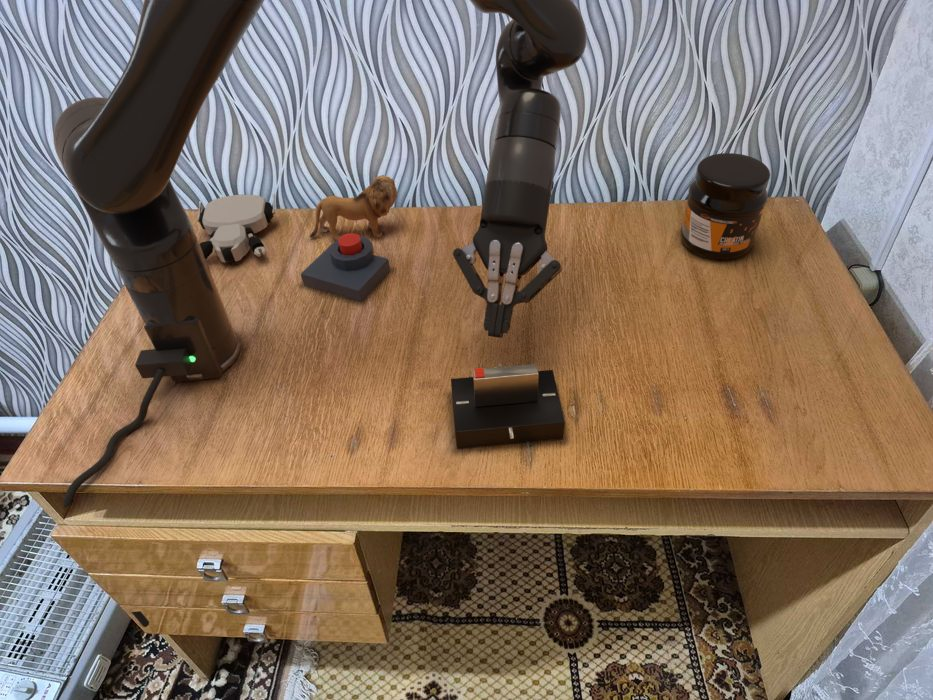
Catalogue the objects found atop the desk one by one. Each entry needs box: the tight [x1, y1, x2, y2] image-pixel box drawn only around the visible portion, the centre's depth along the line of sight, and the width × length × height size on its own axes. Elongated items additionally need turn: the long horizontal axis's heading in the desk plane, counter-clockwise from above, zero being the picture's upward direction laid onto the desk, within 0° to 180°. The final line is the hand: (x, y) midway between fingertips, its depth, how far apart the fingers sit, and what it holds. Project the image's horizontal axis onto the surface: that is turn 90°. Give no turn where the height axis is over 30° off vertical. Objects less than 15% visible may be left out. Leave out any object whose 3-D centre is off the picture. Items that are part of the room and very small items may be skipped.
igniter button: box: [338, 232, 362, 256], centre depth 95 cm, size 3×3×2 cm
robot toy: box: [196, 192, 277, 264], centre depth 104 cm, size 12×4×15 cm
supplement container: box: [680, 152, 771, 260], centre depth 95 cm, size 10×10×12 cm
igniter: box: [300, 235, 391, 303], centre depth 96 cm, size 10×9×4 cm
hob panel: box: [450, 363, 566, 450], centre depth 75 cm, size 12×11×3 cm
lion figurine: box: [308, 174, 398, 241], centre depth 102 cm, size 15×5×9 cm, turn 103°
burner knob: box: [472, 363, 539, 407], centre depth 73 cm, size 7×2×5 cm, turn 94°
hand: (495, 337), depth 75 cm, fingers closed
